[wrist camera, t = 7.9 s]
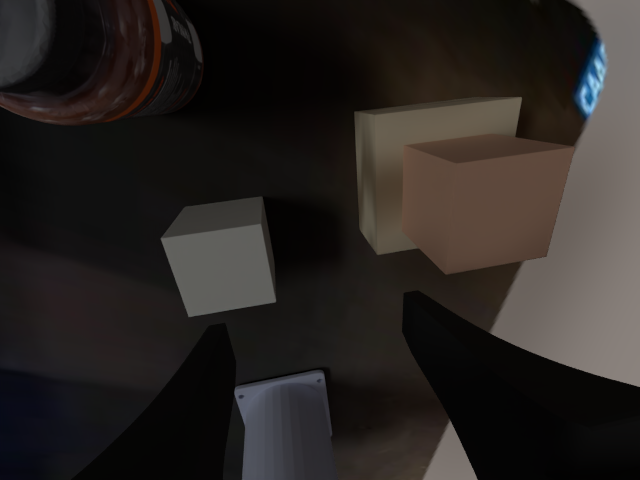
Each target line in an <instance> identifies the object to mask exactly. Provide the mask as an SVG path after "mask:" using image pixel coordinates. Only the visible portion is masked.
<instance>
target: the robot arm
mask: <svg viewBox="0 0 640 480" xmlns="http://www.w3.org/2000/svg"><path fill="white" fill-rule="evenodd" d="M402 332H403V335H404V337H405V339H406V342H407V344H408V346H409V348H410V351H411V353H412V355H413V356H414V358H415V360H416V362H417V363H418V365H419V367H420V368H421V370H422V372H423V373H424V375H425V377H426V378H427V380H428V382H429V383H430V385H431V387H432V388H433V390H434V392H435V393H436V395H437V397H438V398H439V400H440V402H441V403H442V405H443V407H444V409H445V411H446V412H447V414H448V416H449V418H450V420H451V422H452V425H453V427H454V428H455V431H456V433H457V435H458V437H459V439H460V441H461V443H462V446H463V448H464V450H465V452H466V454H467V457H468V459H469V461H470V463H471V465H472V468H473V470H474V472H475V474H476V476H477V479H478V480H640V387H637V386H634V385H630V384H627V383H623V382H619V381H616V380H611V379H608V378H604V377H601V376H597V375H594V374H591V373H588V372H584V371H581V370H578V369H575V368H572V367H569V366H566V365H563V364H560V363H558V362H555V361H552V360H549V359H547V358H544V357H541V356H539V355H537V354H534V353H531V352H529V351H527V350H524V349H522V348H520V347H517V346H515V345H513V344H511V343H508V342H506V341H504V340H502V339H500V338H498V337H496V336H494V335H492V334H490V333H488V332H486V331H485V330H483V329H481V328H479V327H477V326H475V325H473V324H472V323H470V322H468V321H467V320H465V319H463V318H461V317H460V316H458V315H456V314H455V313H453V312H452V311H450V310H448V309H447V308H445V307H444V306H442V305H440V304H439V303H437V302H436V301H434V300H433V299H431V298H430V297H428V296H426V295H425V294H423V293H421V292H420V291H418V290H417V291H412V292H406V293H404V299H403V323H402ZM235 379H236V360H235V356H234V353H233V349H232V346H231V342H230V338H229V335H228V331H227V328H226V324H225V323H222V324H216V325H210V326H208V328H207V329H206V330H205V332H204V333H203V335H202V336H201V338H200V339H199V341H198V342H197V344H196V345H195V347H194V348H193V349H192V351H191V352H190V354H189V355H188V357H187V358H186V359H185V361H184V362H183V363H182V365H181V366H180V368H179V369H178V370H177V372H176V373H175V374H174V376H173V377H172V378H171V379H170V381H169V382H168V383H167V384H166V386H165V387H164V388H163V389H162V391H161V392H160V393H159V394H158V396H157V397H156V398H155V399H154V400H153V401H152V403H151V404H150V405H149V406H148V407H147V408H146V409H145V410H144V411H143V413H142V414H141V415H140V416H139V417H138V418H137V419H136V420H135V421H134V422H133V423H132V424H131V425H130V426H129V427H128V428H127V429H126V430H125V431H124V432H123V433H122V434H121V435H120V436H119V437H118V438H117V439H116V440H115V441H114V442H113V443H112V444H111V445H110V446H109V447H107V448H106V449H105V450H104V451H103V452H102V453H101V454H100V455H99V456H98V457H97V458H95V459H94V460H93V461H92V462H91V463H90V464H89V465H88V466H86V467H85V468H84V469H83V470H82V471H81V472H79V473H78V474H77V475H76V476H75V477H74V478H72V479H71V480H223V465H224V456H225V448H226V442H227V436H228V430H229V423H230V417H231V411H232V405H233V398H234V394H235V397H236V400H237V403H238V406H239V409H240V412H241V415H242V418H243V421H244V424H245V427H246V428H245V443H244V458H243V473H242V480H338V476H337V470H336V465H335V460H334V454H333V449H332V443H331V438H330V437H331V435H332V428H331V421H330V413H329V405H328V398H327V390H326V383H325V375H324V372H323V371H322V370H315V371H310V372H305V373H300V374H295V375H290V376H285V377H280V378H275V379H270V380H265V381H260V382H255V383H250V384H245V385H240V386H237V387H236V388H235ZM234 391H235V392H234Z"/></svg>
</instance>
